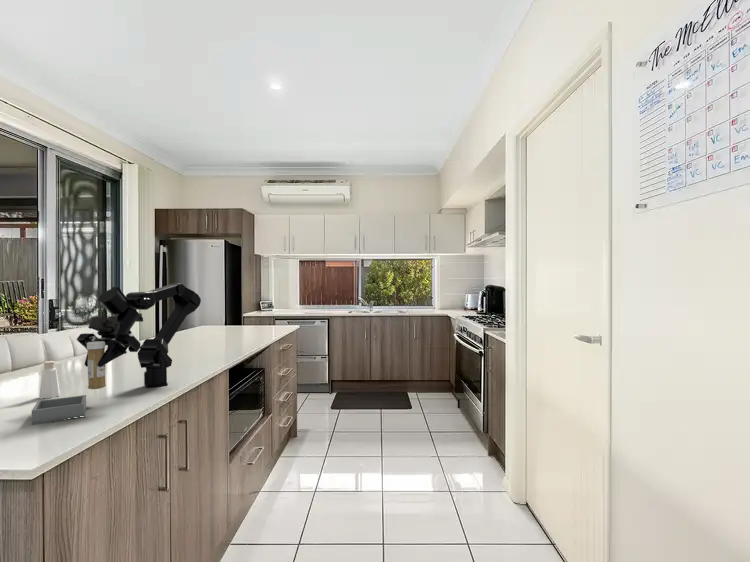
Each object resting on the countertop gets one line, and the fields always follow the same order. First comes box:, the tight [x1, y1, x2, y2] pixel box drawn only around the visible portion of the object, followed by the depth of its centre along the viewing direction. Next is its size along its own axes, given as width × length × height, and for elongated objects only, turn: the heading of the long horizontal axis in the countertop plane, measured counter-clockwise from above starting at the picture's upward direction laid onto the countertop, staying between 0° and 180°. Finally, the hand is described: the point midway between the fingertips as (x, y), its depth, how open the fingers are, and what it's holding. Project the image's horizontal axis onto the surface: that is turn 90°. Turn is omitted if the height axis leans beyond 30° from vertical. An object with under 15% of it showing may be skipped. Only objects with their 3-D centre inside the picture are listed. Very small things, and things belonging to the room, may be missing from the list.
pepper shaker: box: [38, 360, 61, 399], centre depth 139 cm, size 5×5×11 cm
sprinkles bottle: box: [86, 341, 107, 390], centre depth 129 cm, size 5×5×14 cm
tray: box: [31, 394, 87, 426], centre depth 118 cm, size 11×11×4 cm
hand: (92, 366), depth 128 cm, fingers closed on sprinkles bottle, 4 cm apart
